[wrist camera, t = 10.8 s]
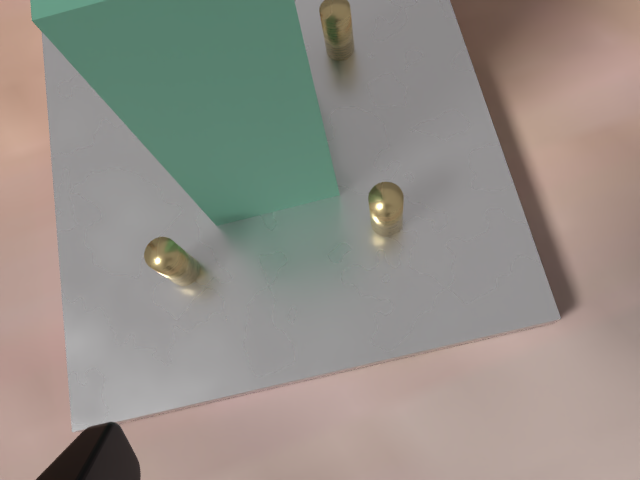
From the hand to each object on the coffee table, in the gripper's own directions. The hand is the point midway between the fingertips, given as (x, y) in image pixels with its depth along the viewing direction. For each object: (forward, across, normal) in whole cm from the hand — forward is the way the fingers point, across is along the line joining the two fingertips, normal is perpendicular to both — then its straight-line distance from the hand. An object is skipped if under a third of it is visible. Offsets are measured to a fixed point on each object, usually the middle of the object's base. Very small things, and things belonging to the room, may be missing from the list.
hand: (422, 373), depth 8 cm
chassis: (+17, +3, +2) cm, 17 cm away
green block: (+16, +3, +1) cm, 17 cm away
